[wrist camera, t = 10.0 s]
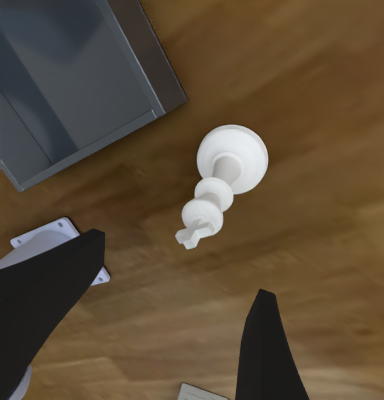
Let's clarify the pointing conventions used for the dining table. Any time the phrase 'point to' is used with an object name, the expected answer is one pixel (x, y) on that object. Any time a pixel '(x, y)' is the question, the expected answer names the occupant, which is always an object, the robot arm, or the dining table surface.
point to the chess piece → (222, 179)
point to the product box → (196, 394)
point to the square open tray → (76, 82)
